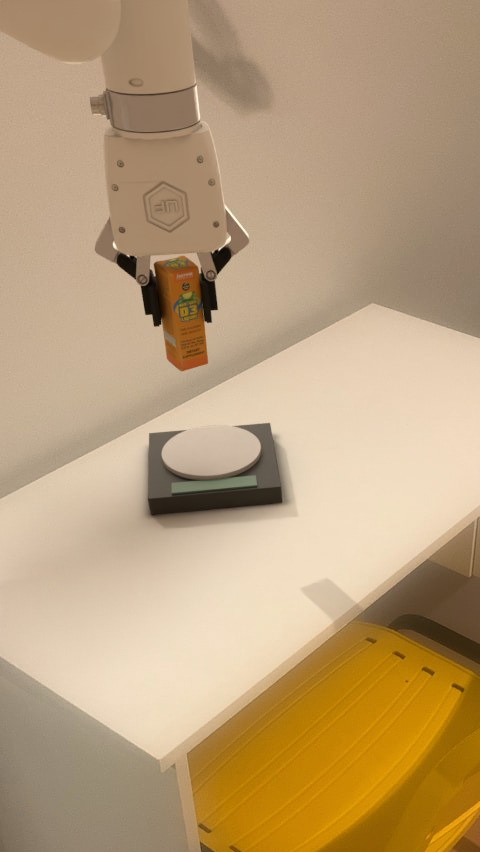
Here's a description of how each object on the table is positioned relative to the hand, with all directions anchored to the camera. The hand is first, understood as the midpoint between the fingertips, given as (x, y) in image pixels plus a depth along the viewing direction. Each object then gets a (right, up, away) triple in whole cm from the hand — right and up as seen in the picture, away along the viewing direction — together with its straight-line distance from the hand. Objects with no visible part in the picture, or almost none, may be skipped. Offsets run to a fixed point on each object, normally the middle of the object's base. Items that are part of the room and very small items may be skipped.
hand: (182, 317), depth 93 cm
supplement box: (0, -4, +3) cm, 5 cm away
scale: (+1, -13, +14) cm, 19 cm away
